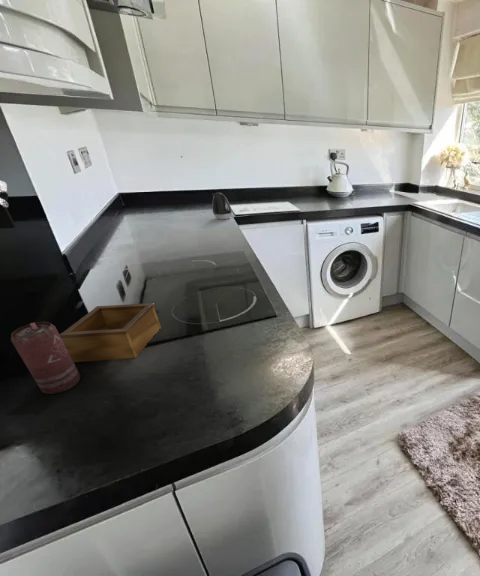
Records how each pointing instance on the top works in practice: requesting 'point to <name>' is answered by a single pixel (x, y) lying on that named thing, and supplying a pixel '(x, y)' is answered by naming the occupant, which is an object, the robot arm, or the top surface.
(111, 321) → the wooden open box
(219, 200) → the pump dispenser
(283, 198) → the top surface
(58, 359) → the can
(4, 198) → the robot arm
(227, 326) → the top surface
